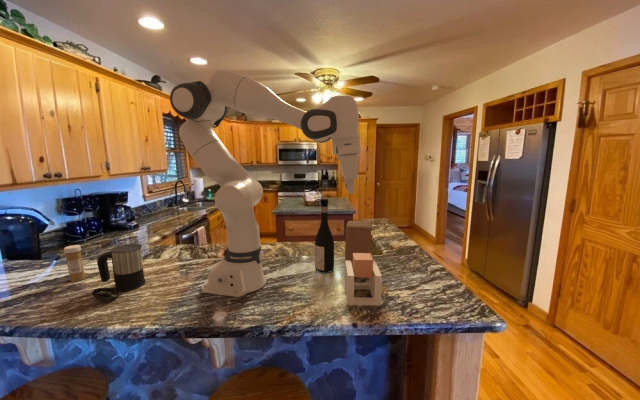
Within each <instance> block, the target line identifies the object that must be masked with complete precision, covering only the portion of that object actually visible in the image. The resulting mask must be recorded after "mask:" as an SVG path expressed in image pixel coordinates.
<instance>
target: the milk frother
mask: <svg viewBox="0 0 640 400" xmlns="http://www.w3.org/2000/svg"><path fill="white" fill-rule="evenodd" d="M142 246H143V245H142V244H141V243H127V244H126V243H125V244H121V245H117V246H115V247H112V248H111V249H110V250H109V251H106V252H104V253H102V254H101V255H99V257H98V258H97V259H96V262H97V267H98V273H99V276H100V280H101V282H102V283H106V282H108V281H109V280H111V274H110V269H109V264H108V263H109V262H108V259H111V263H112V271H113V282H114V285H115V287H98V288H95V289H93V290H92V292H91V296H92V297H93V298H94V299H96V300H99V301H104V302H109V301H113V300H116V299H117V298H119V297H120V292H126V291H132V290H135V289H138V288H141V287H143V285H145V284H146V282H147V281H146V279H145V273H144V264H143V263H144V262H143V255H142V253H143V252H142Z"/></svg>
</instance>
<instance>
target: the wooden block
mask: <svg viewBox="0 0 640 400" xmlns="http://www.w3.org/2000/svg"><path fill="white" fill-rule="evenodd" d="M344 240H345V244H344V245H345V248H344V249H345V250H344V253H345V254H344V256H345V257H344V260H345V261H351V263H352V266H353V253H370V254H371V255H372V253H371V252H372V222H371V221H366V220H365V221H358V220H348V222H347V224H346V226H345V239H344ZM345 261H344V262H345Z"/></svg>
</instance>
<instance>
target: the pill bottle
mask: <svg viewBox="0 0 640 400" xmlns="http://www.w3.org/2000/svg"><path fill="white" fill-rule="evenodd" d="M63 250H64V251H63V252H64V253H65V259H66V265H67V270H68V274H69V281H70V282H72V283H73V282H80V281H82V280H84V279H85V278H86V275H85V266H84V262H83V257H82V252H81V250H82V248H81V245H80V244H75V245H68V246H65V247H64V248H63Z"/></svg>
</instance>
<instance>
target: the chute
mask: <svg viewBox="0 0 640 400" xmlns="http://www.w3.org/2000/svg"><path fill="white" fill-rule="evenodd" d="M382 280H383V276H382V273H381V270H380V269H379V267H378V264H377V262H376V260H373V278H371V277H368V282H355V277H354V272H353V268H352V263H351V261H344V288H345V289H344V290H345V296H346V297H345V298H346V305H347V306H381V305H382V284H383V283H382ZM355 290H369V293H370V296H371V297H360V296H359V297H356V296H355Z"/></svg>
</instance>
